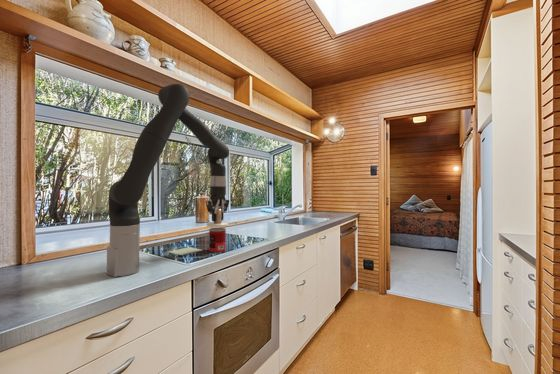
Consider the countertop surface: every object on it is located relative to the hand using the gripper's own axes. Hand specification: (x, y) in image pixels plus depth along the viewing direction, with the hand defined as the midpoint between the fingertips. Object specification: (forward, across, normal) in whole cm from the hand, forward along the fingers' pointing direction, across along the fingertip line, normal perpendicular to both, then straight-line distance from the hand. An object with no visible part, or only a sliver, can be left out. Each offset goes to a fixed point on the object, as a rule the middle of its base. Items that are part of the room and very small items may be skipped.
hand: (217, 220), depth 124 cm
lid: (+2, 0, 0) cm, 2 cm away
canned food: (+15, 0, 0) cm, 15 cm away
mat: (+15, -10, +11) cm, 21 cm away
